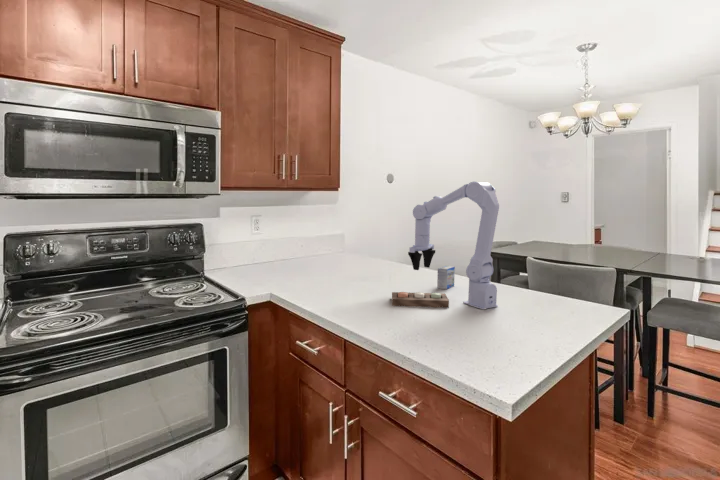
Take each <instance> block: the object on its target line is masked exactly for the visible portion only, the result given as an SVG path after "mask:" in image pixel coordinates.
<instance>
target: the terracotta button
mask: <svg viewBox="0 0 720 480" xmlns="http://www.w3.org/2000/svg"><path fill="white" fill-rule="evenodd" d="M408 293H409V292H406V291H400V292H399V293H398V297H406V298H408Z"/></svg>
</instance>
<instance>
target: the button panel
mask: <svg viewBox="0 0 720 480" xmlns="http://www.w3.org/2000/svg"><path fill="white" fill-rule="evenodd" d="M398 293H399V292H396V291H392V292H391V307H411V308H412V307H413V308H414V307H417V308H418V307H419V308H446V309H447V308H448V309H449V308H450V300H449V297H448V296H447V295H446V293H440V292H439V293H440V294H441V298H431V293H432V292H423V293H424V298H414V293H415V292H407V293H408V298H406V297H398Z"/></svg>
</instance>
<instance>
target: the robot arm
mask: <svg viewBox="0 0 720 480" xmlns="http://www.w3.org/2000/svg"><path fill="white" fill-rule="evenodd" d="M496 190H497V188H495V187H494V186H493V184H491V183H490V182H486V181H483V182H480V181H470V182H468V183H466V184H463V185H462V186H460V187H458V188H456V189H455V190H453V191H452V192H450V193H448V194H447V195H445V196H440V195H434V196H433V197H432V199H430V200H428V201H424V202H423V204H416V205H415V206H414V207H413V210H412V215H413V216H412V217H414V219H415V220H414V221H415V223H414V225H415V226H414V227H415V228H414V233H415V234H414V244H413V245H412V246H410V247H409V249H408V250H409V251H408V252H407V253H408V254H407V255H408V256H409V258H410V262H411V264H412V268H413V270H414V271H419V270H420V263H421V259H422V258H423V267H424V268H428V269H429V268H430V266H431V263H432V260H433V257H434V255H435V254H436V249H435V244H432V243H430V242H431V241H430V238H431V237H430V233H431V219H432V217H433V216H435V215H436V214H439V213H441V212H442V211H445V210H446V209H447V207H448V205H451V204H452V203H455V202H457V201H460V200H461V199H464V198H468V199H470V200H471V201H472V202H474V203H475V204H477V205H478V207H479V208H480V209H481V214H480V215H481V216H480V221H479V227H478V232H477V238H476V245H475V249H474V254H473V255H472V257H471V259H469V264H468V265H467V267H466V269H465V273H466V276H467V278H468V280H469V281H468V300H466V301H462V302H463V304H465V305H469V306H471V307H475V308H477V309H480V310H485V309H486V310H487V309H491V308H495V307H498V305H499V304H497V299H498V298H497V295H498V294H497V292H498V289H497V286H496V285H495V284H494V283H493V282H491V276H493V274H494V265H493V263H494V262H493V261H494V259H493V257H492V256H491V254H492V248H493V242H494V237H495V231H496V227H497V222H498V221H497V220H498V215H499V211H500V210H499V209H500V204H499V200H498V198H497V194H496V192H497V191H496ZM420 252H421V253H420Z"/></svg>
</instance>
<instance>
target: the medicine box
mask: <svg viewBox="0 0 720 480" xmlns="http://www.w3.org/2000/svg"><path fill="white" fill-rule="evenodd" d="M455 271H456V268H455V266H453V265H445V266H442V267H439V268H437V289H443V290H448V289H451V288H452V287H455Z"/></svg>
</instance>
